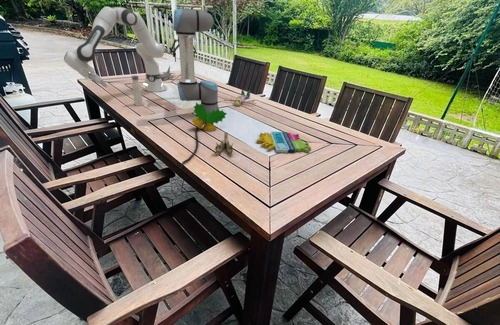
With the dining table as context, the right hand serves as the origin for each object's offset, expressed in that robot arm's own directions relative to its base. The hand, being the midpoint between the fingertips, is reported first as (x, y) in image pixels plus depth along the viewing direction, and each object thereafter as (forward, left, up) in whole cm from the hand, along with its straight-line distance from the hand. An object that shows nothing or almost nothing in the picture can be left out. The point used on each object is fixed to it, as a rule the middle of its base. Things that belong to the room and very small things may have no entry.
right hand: (184, 61), depth 211 cm
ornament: (-76, -10, -28) cm, 81 cm away
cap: (-22, +36, -7) cm, 43 cm away
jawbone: (-108, -13, -28) cm, 112 cm away
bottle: (-22, +36, -28) cm, 51 cm away
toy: (-19, -44, -28) cm, 56 cm away
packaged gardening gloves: (-102, -48, -28) cm, 117 cm away
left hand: (-15, +57, -16) cm, 61 cm away
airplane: (+65, +19, -28) cm, 73 cm away
